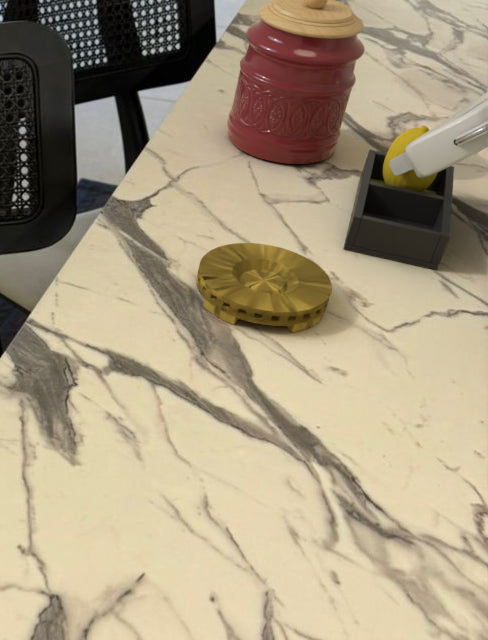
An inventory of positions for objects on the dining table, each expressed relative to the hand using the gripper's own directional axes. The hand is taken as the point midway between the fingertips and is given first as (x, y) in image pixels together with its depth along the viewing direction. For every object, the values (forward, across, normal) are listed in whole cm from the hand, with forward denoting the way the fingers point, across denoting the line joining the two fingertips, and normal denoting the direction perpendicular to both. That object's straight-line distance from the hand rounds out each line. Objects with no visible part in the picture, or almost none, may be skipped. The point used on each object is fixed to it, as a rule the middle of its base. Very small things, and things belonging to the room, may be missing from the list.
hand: (408, 158), depth 107 cm
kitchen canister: (+15, +4, +8) cm, 18 cm away
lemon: (+3, 0, -4) cm, 5 cm away
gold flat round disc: (+4, -28, -4) cm, 28 cm away
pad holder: (+2, -4, -5) cm, 7 cm away
